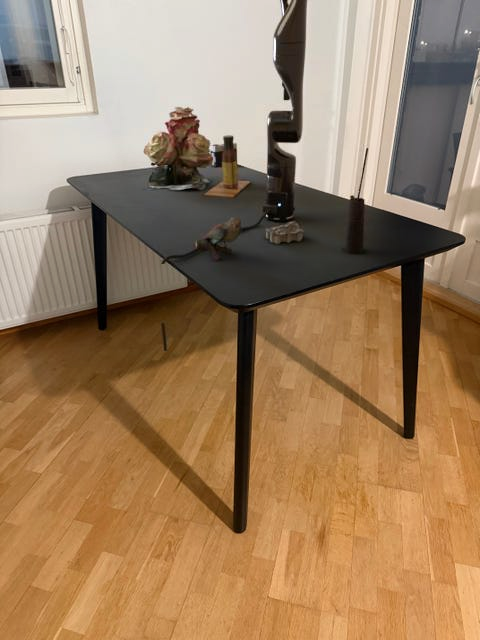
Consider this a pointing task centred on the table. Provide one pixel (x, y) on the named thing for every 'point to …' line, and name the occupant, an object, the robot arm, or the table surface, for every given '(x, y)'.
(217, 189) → the flat copper plate
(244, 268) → the table surface
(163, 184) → the rose bouquet
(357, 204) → the butter churn
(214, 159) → the camera
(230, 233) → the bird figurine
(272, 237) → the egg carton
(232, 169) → the sauce bottle
